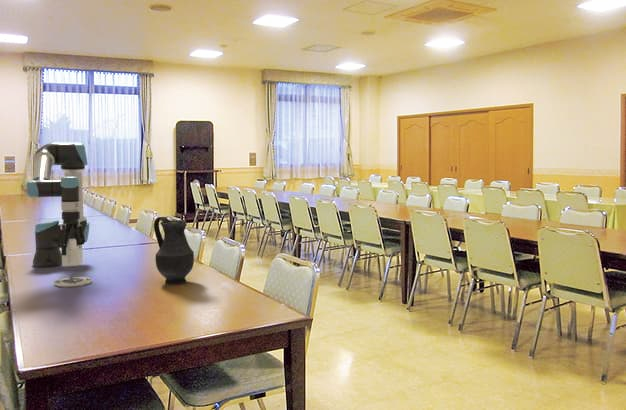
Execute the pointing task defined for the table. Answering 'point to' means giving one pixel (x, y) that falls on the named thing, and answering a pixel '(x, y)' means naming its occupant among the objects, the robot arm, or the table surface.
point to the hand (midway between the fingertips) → (72, 260)
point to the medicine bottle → (74, 253)
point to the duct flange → (72, 282)
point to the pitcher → (173, 251)
